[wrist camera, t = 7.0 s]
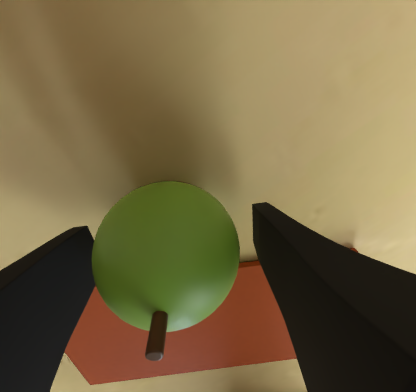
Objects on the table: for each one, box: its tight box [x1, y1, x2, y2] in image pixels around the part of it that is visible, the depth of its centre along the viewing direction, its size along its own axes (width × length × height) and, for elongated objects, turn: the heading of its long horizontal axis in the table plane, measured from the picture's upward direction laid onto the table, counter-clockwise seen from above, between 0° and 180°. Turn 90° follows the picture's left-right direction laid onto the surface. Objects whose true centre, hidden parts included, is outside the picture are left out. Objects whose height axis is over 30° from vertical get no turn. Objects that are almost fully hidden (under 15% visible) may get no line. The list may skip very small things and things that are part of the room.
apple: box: [92, 181, 240, 361], centre depth 8 cm, size 5×5×7 cm
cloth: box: [64, 248, 358, 385], centre depth 15 cm, size 11×20×1 cm, turn 97°
